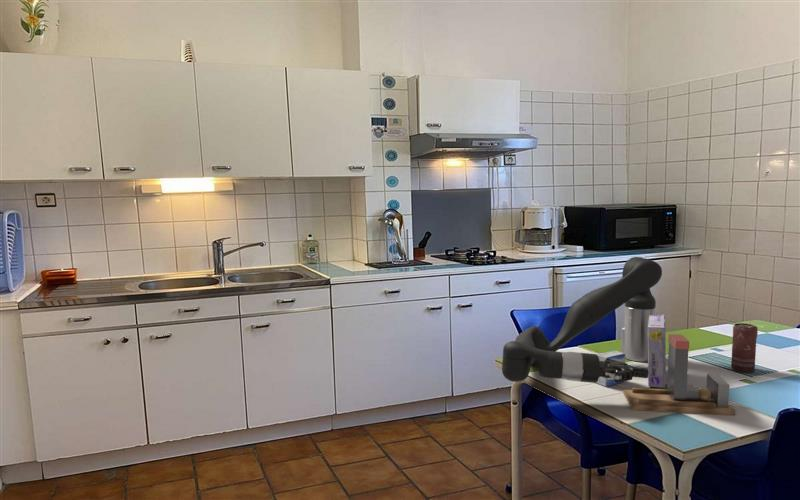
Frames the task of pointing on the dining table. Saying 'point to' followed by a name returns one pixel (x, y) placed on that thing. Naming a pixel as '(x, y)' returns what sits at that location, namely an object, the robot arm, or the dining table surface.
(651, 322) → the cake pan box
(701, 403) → the board
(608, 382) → the medicine box
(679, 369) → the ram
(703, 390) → the walnut
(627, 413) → the dining table surface
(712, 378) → the grey stop block
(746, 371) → the can
